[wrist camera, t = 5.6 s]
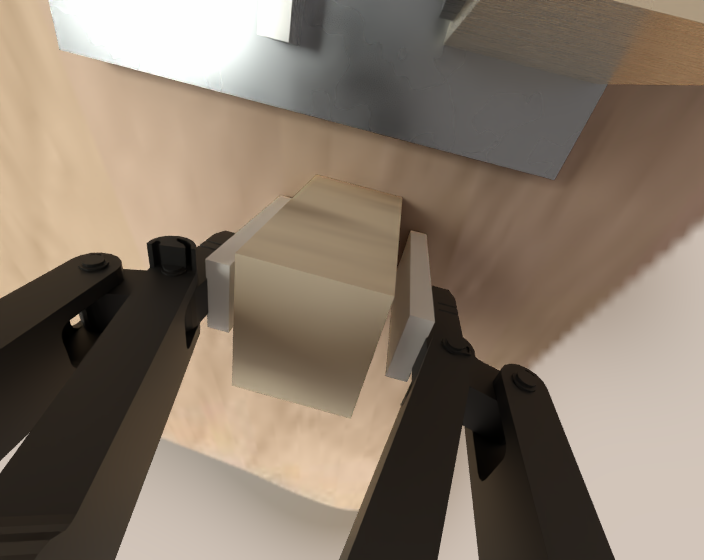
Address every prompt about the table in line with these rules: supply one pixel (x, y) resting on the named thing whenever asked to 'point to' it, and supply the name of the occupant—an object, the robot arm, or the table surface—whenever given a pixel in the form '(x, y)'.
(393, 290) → the wooden block
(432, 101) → the grey base stand
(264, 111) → the table surface
